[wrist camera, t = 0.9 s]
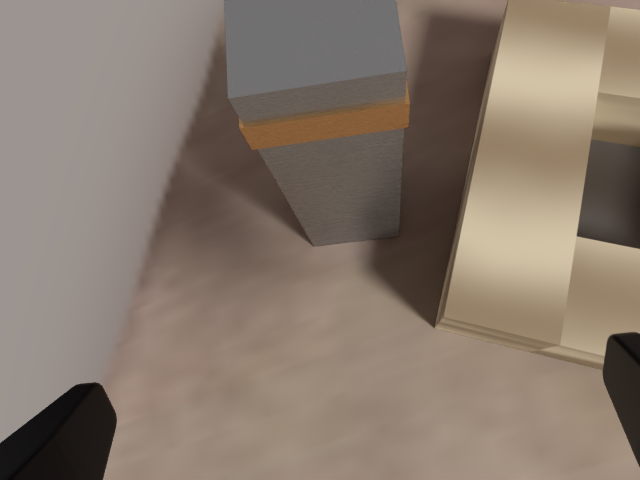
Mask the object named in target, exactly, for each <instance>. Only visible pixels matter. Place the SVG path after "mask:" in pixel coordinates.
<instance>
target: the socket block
mask: <svg viewBox="0 0 640 480" xmlns="http://www.w3.org/2000/svg"><path fill="white" fill-rule="evenodd" d="M435 328H436V329H440V330H444V331H448V332H452V333H456V334H460V335H464V336H468V337H472V338H476V339H480V340H484V341H488V342H492V343H496V344H500V345H504V346H508V347H512V348H516V349H520V350H524V351H528V352H532V353H536V354H540V355H545V356H549V357H553V358H557V359H561V360H565V361H569V362H573V363H577V364H581V365H585V366H589V367H593V368H597V369H601V370H603V364H604V357H605V351H606V344H607V340H608V338H609V336H610V335H612V334H616V333H626V332H637V333H640V10H635V9H626V8H618V7H609V6H600V5H591V4H582V3H574V2H565V1H556V0H508V3H507V6H506V9H505V12H504V16H503V19H502V22H501V25H500V29H499V32H498V35H497V39H496V42H495V45H494V48H493V52H492V56H491V60H490V65H489V70H488V75H487V79H486V84H485V89H484V94H483V99H482V103H481V108H480V113H479V118H478V123H477V127H476V132H475V137H474V142H473V146H472V151H471V156H470V161H469V166H468V170H467V175H466V180H465V185H464V189H463V194H462V199H461V204H460V209H459V213H458V218H457V223H456V228H455V233H454V237H453V242H452V247H451V252H450V256H449V261H448V266H447V271H446V276H445V280H444V285H443V290H442V295H441V300H440V304H439V309H438V314H437V319H436V323H435Z"/></svg>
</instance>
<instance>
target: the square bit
mask: <svg viewBox="0 0 640 480" xmlns="http://www.w3.org/2000/svg"><path fill="white" fill-rule="evenodd" d="M224 12H225V38H226V63H227V89H228V100H229V101H230V103H231V105H232V106H233V108H234V110H235V112H236V113H237V115H238V117H239V129H240V131H241V132H242V134H243V136H244V137H245V139H246V141H247V142H248V144H249V146H250V147H251V149H252V150H256V149H257V150H258V151H259V153H260V155H261V156H262V158H263V160H264V162H265V163H266V165H267V167H268V169H269V170H270V172H271V174H272V175H273V177H274V179H275V181H276V182H277V184H278V186H279V187H280V189H281V191H282V193H283V194H284V196H285V198H286V200H287V201H288V203H289V205H290V206H291V208H292V210H293V212H294V213H295V215H296V217H297V219H298V220H299V222H300V224H301V225H302V227H303V229H304V231H305V232H306V234H307V236H308V237H309V239H310V241H311V243H312V244H313V246H322V245H331V244H339V243H347V242H355V241H364V240H372V239H380V238H388V237H397V236H399V223H400V202H401V181H402V160H403V139H404V128H409V113H410V99H409V93H408V86H407V80H406V76H407V69H406V63H405V56H404V50H403V43H402V37H401V31H400V24H399V18H398V11H397V5H396V0H224Z"/></svg>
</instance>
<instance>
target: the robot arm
mask: <svg viewBox="0 0 640 480" xmlns="http://www.w3.org/2000/svg"><path fill="white" fill-rule="evenodd" d="M603 380H604V383H605V386H606V388H607V391H608V393H609V396H610V398H611V400H612V403H613V405H614V408H615V410H616V412H617V415H618V417H619V420H620V422H621V424H622V427H623V429H624V432H625V434H626V436H627V439H628V441H629V444H630V446H631V448H632V451H633V453H634V455H635V458H636V460H637V462H638V464H639V467H640V333H637V332H626V333H616V334H612V335H610V336H609V338H608V340H607V344H606V351H605V357H604V364H603ZM116 423H117V418H116V413H115V410H114V408H113V406H112V404H111V402H110V400H109V398H108V396H107V394H106V392H105V390H104V388H103V387H102V385H100V384H99V383H96V382H94V383H84V384H78V385H75V386H74V387H72V388H71V389H70V390H69V391H67V392H66V393H64V394H63V395H62V396H61V397H59V398H58V399H57V400H55V401H54V402H53V403H52V404H50V405H49V406H48V407H46V408H45V409H44V410H42V411H41V412H40V413H39V414H38V415H36V416H35V417H34V418H32V419H31V420H30V421H28V422H27V423H26V424H24V425H23V426H22V427H21V428H19V429H18V430H17V431H15V432H14V433H13V434H11V435H10V436H9V437H8V438H6V439H5V440H4V441H2V442H1V443H0V480H103V477H104V473H105V469H106V465H107V461H108V457H109V453H110V449H111V445H112V441H113V437H114V433H115V429H116Z"/></svg>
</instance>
